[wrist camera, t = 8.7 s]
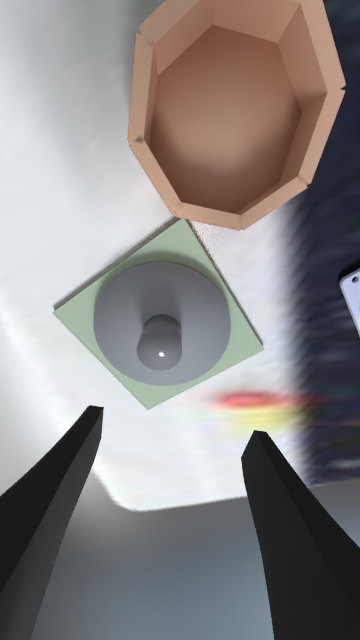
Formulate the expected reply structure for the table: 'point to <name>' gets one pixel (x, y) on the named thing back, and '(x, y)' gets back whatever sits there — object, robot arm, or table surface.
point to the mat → (167, 247)
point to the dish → (233, 104)
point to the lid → (162, 323)
